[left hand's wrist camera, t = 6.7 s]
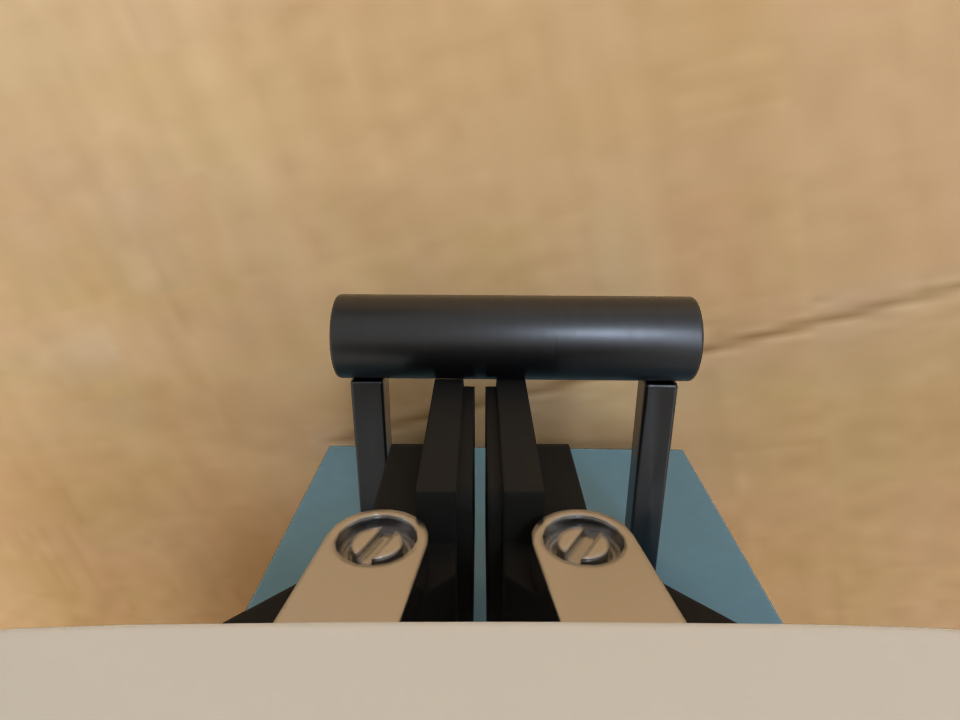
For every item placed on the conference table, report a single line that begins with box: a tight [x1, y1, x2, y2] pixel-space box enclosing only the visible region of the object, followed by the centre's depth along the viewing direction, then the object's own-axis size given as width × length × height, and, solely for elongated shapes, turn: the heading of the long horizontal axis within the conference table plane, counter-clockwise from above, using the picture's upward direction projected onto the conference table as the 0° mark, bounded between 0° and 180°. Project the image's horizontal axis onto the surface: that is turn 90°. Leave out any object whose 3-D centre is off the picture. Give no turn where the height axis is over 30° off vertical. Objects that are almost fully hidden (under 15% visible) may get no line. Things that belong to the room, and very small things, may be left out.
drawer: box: [246, 294, 783, 624], centre depth 16 cm, size 22×10×8 cm, turn 0°
